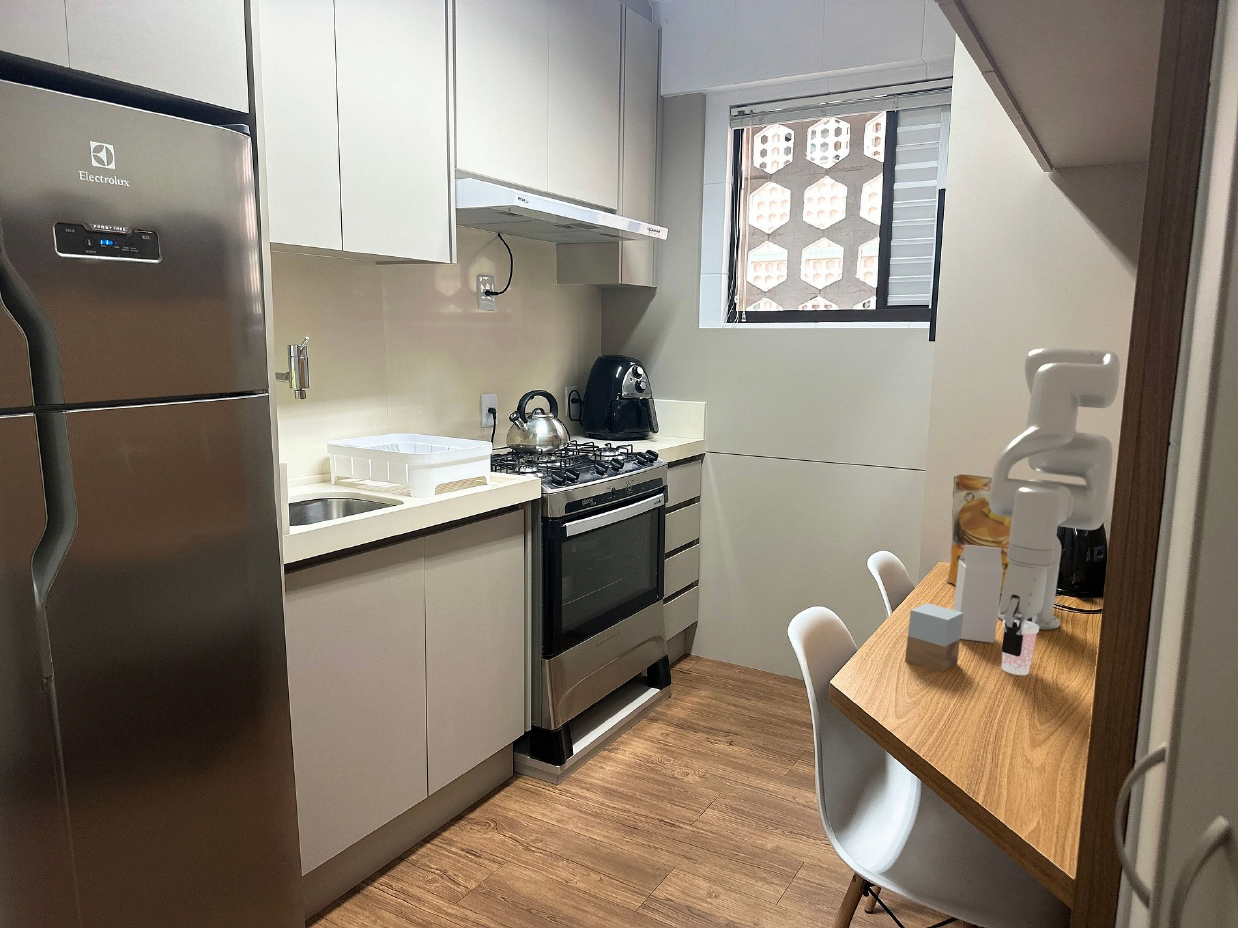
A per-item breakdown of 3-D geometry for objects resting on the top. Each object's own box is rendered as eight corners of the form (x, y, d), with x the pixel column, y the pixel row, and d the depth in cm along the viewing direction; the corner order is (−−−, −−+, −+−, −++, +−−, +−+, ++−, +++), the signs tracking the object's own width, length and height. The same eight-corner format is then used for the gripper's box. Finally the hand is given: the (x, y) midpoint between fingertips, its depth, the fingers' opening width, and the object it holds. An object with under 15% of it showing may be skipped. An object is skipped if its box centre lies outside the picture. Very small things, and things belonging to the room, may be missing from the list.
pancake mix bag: (944, 577, 218) (957, 472, 214) (1024, 593, 208) (1039, 482, 204) (938, 583, 213) (950, 474, 209) (1019, 599, 202) (1034, 485, 198)
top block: (924, 628, 161) (927, 603, 160) (960, 638, 156) (963, 612, 156) (907, 635, 156) (910, 609, 155) (944, 646, 151) (947, 619, 151)
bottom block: (921, 652, 162) (924, 627, 161) (957, 663, 157) (960, 638, 156) (904, 661, 157) (907, 635, 156) (941, 672, 152) (944, 646, 151)
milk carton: (994, 643, 169) (1005, 552, 167) (957, 639, 171) (968, 548, 168) (986, 632, 176) (997, 544, 173) (950, 628, 178) (961, 540, 175)
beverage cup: (1038, 671, 155) (1048, 598, 153) (1026, 679, 151) (1036, 604, 149) (1004, 661, 159) (1013, 590, 157) (991, 668, 155) (1001, 596, 153)
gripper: (1025, 544, 161) (1013, 634, 163) (991, 557, 148) (979, 654, 151) (1067, 553, 156) (1054, 645, 158) (1035, 567, 143) (1022, 667, 146)
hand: (1017, 648), depth 155 cm, fingers closed on beverage cup, 6 cm apart
